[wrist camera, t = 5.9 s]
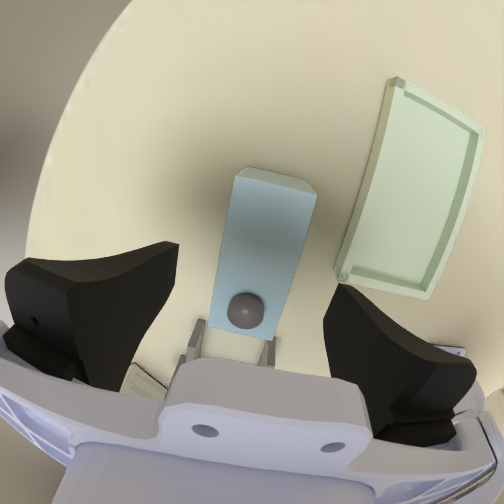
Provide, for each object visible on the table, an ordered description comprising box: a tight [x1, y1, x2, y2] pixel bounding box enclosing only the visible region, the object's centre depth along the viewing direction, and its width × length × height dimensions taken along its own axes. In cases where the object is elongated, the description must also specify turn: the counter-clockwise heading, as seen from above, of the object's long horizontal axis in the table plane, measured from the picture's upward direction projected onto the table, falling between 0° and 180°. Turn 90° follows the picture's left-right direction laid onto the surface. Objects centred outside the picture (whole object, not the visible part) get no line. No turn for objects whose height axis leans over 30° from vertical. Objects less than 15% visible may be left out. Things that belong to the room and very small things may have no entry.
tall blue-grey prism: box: [208, 166, 318, 341], centre depth 17 cm, size 4×9×6 cm, turn 168°
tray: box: [333, 77, 486, 301], centre depth 16 cm, size 8×14×2 cm, turn 167°
